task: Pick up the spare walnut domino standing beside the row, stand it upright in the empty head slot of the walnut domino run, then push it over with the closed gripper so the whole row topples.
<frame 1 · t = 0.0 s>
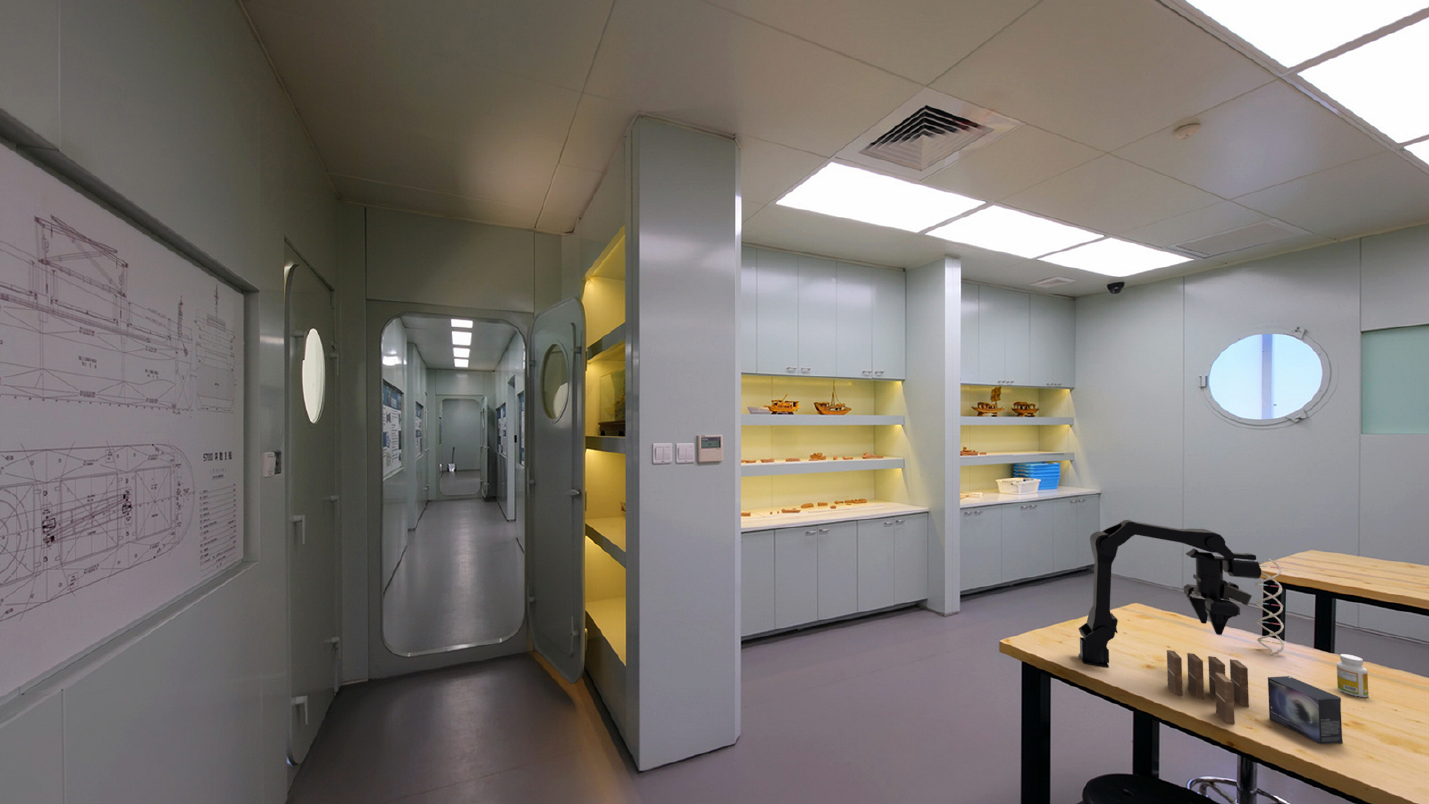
hand: (1211, 628, 149), 15 cm above the table, fingers open, 9 cm apart
domino 3: (1196, 694, 141), on the table
small box: (1304, 731, 124), on the table
domino 5: (1239, 702, 137), on the table
domino 2: (1175, 690, 143), on the table
domino 4: (1217, 698, 139), on the table
supplement bottle: (1352, 693, 143), on the table
dna model: (1271, 653, 168), on the table
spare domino: (1225, 718, 129), on the table
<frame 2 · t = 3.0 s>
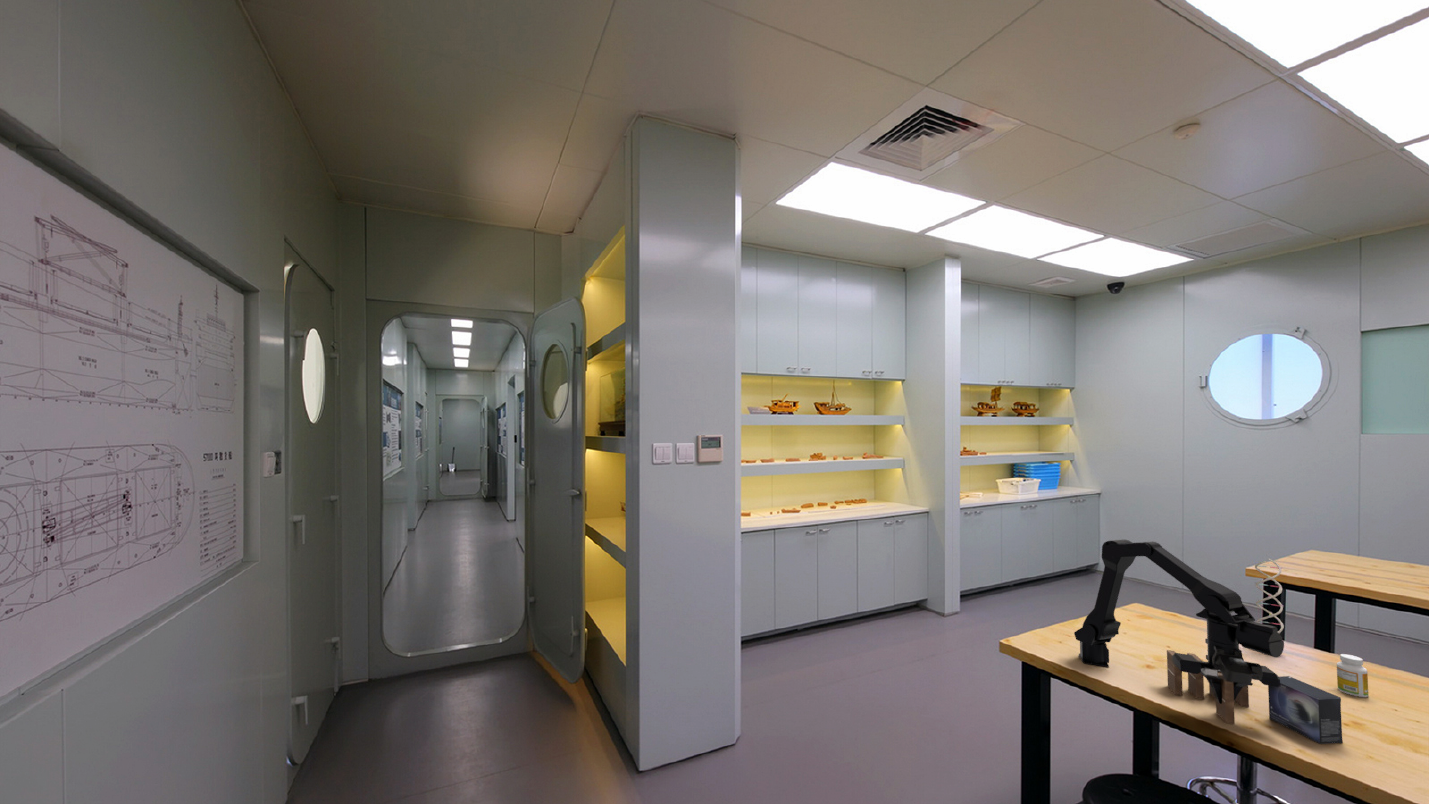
hand: (1224, 703, 129), 4 cm above the table, fingers closed on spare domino, 2 cm apart
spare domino: (1225, 718, 129), on the table, touching gripper
everything else where it was.
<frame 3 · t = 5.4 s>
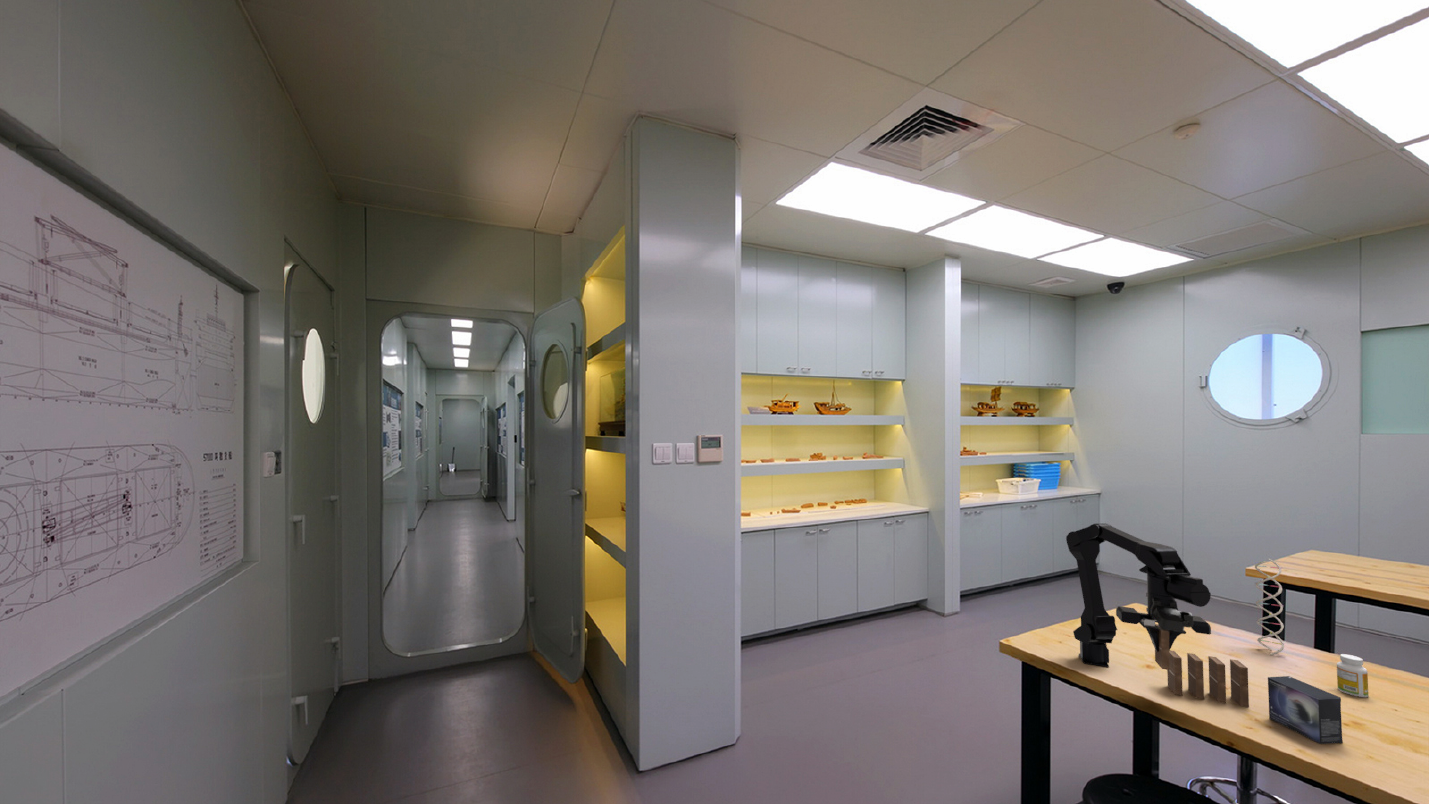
hand: (1161, 651, 139), 12 cm above the table, fingers closed on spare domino
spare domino: (1162, 665, 139), point 9 cm above the table, touching gripper
everything else where it was.
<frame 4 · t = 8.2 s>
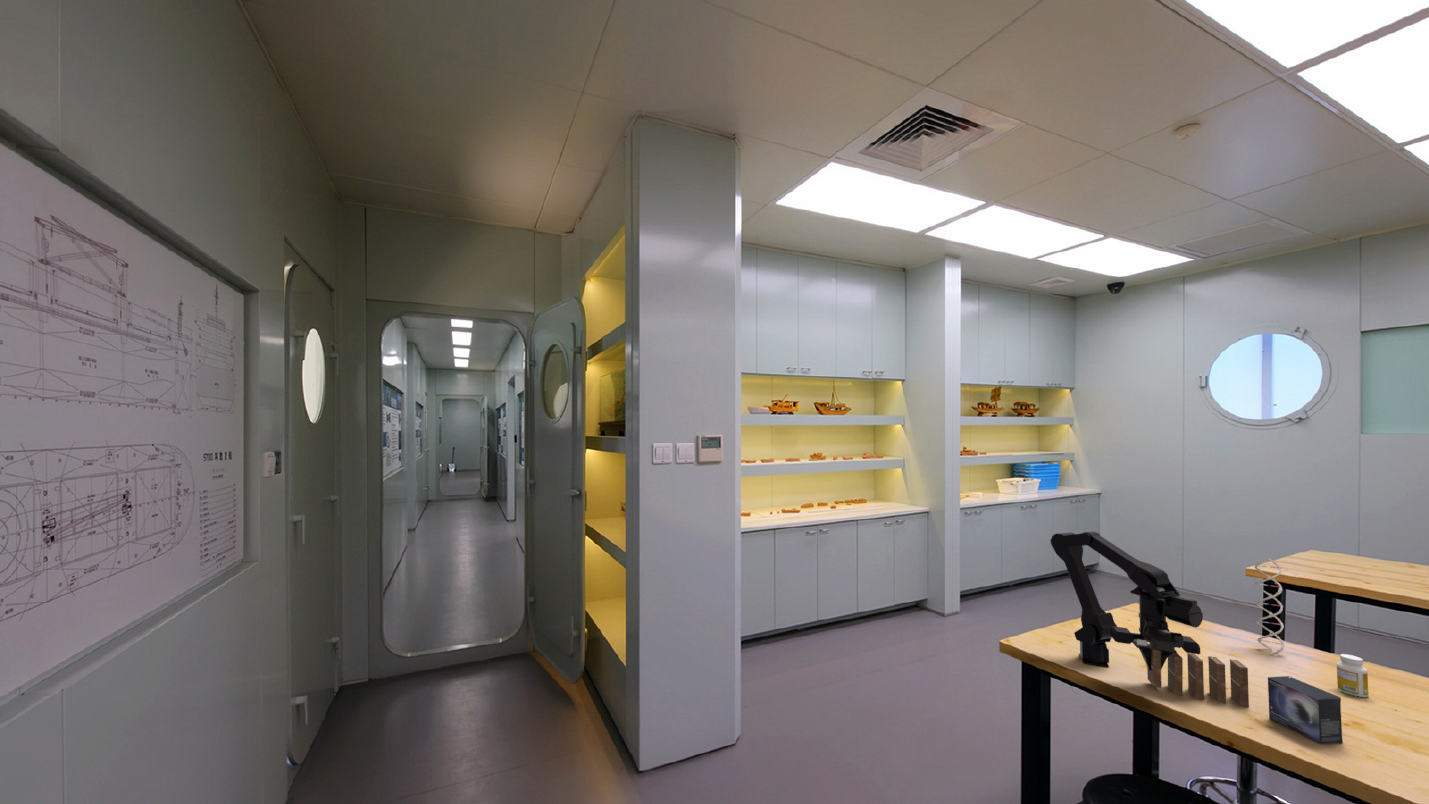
hand: (1154, 670, 145), 5 cm above the table, fingers closed on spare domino, 2 cm apart
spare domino: (1154, 683, 144), point 1 cm above the table, touching gripper
everything else where it was.
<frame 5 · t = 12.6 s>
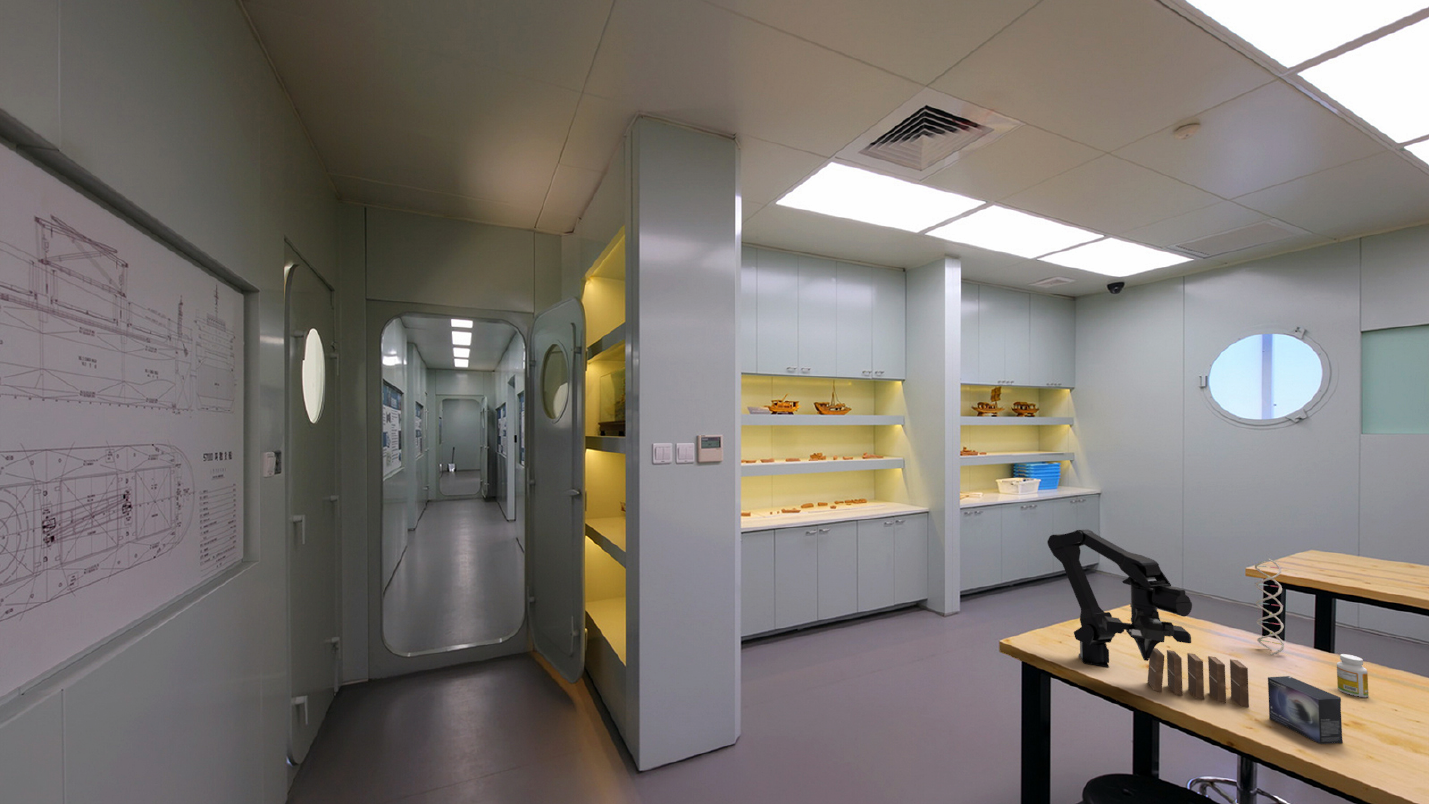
hand: (1145, 660, 145), 7 cm above the table, fingers closed
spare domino: (1154, 687, 144), on the table, touching gripper
everything else where it was.
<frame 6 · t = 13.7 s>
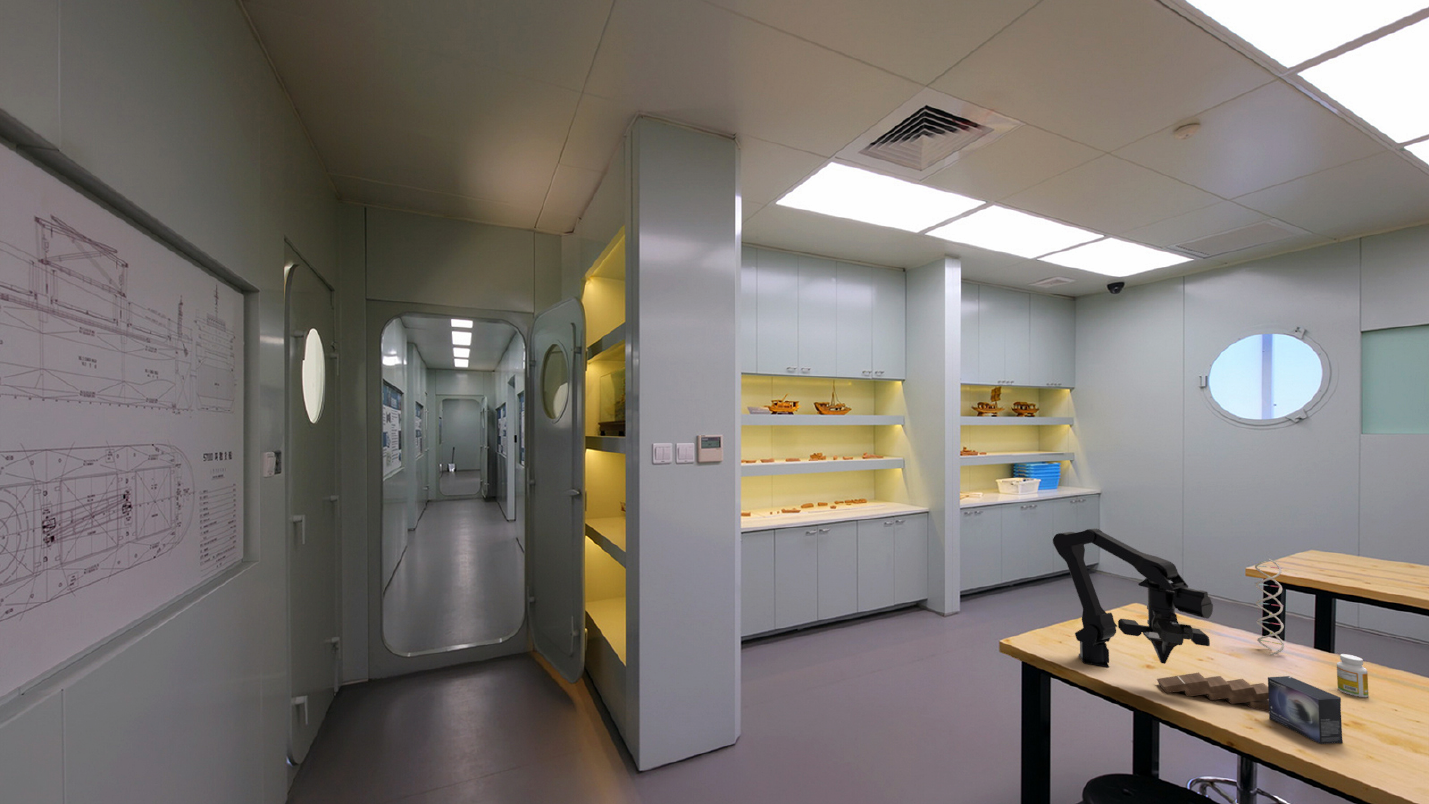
hand: (1162, 663, 144), 7 cm above the table, fingers closed
domino 3: (1204, 692, 140), point 1 cm above the table, tilted 69°, touching domino 2, domino 4
domino 5: (1245, 700, 137), point 1 cm above the table, tilted 90°, touching domino 4
domino 2: (1182, 689, 142), point 1 cm above the table, tilted 69°, touching domino 3, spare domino
domino 4: (1224, 696, 138), point 1 cm above the table, tilted 70°, touching domino 3, domino 5
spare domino: (1161, 685, 144), point 1 cm above the table, tilted 69°, touching domino 2
everything else where it was.
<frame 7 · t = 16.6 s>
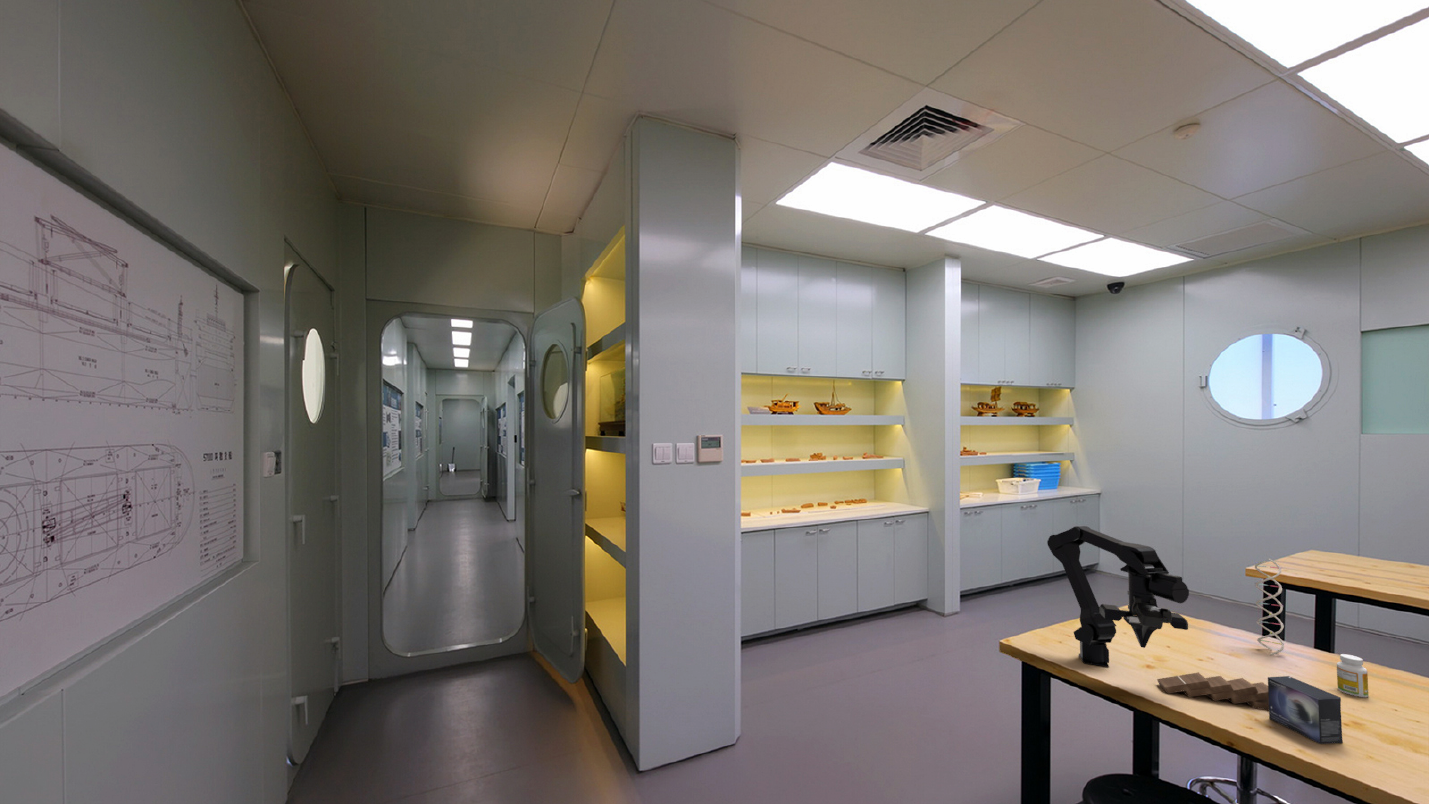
hand: (1142, 647, 146), 11 cm above the table, fingers closed
domino 5: (1247, 700, 137), point 1 cm above the table, tilted 90°
domino 4: (1226, 696, 138), point 1 cm above the table, tilted 71°, touching domino 3
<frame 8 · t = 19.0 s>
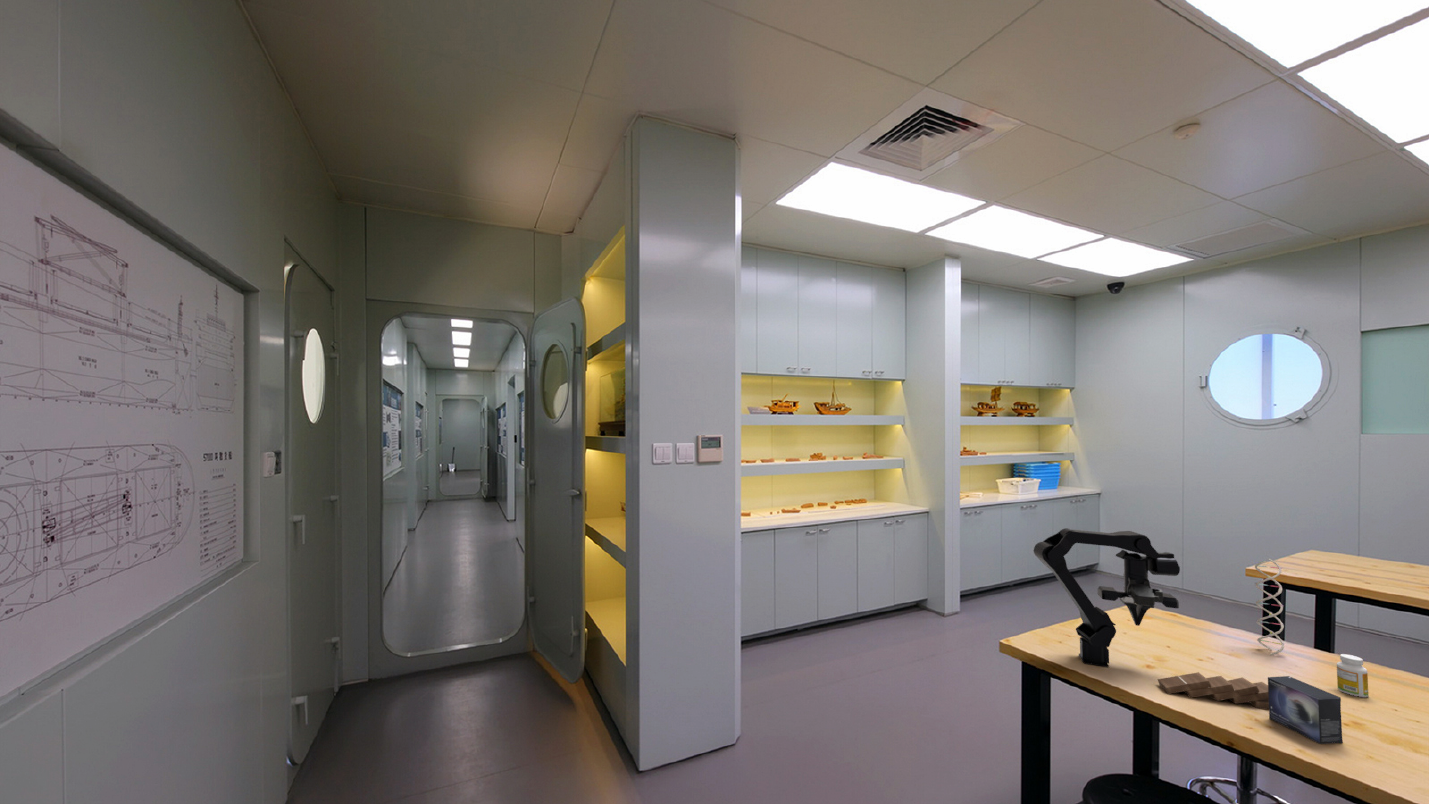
hand: (1137, 625, 158), 12 cm above the table, fingers closed
domino 5: (1249, 700, 137), point 1 cm above the table, tilted 90°, touching domino 4
domino 4: (1227, 696, 138), point 1 cm above the table, tilted 72°, touching domino 3, domino 5
at the end: domino 5 tilted 90°; domino 3 tilted 69°; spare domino inside the target area (0.9 cm from its centre), point 0.7 cm above the table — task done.
